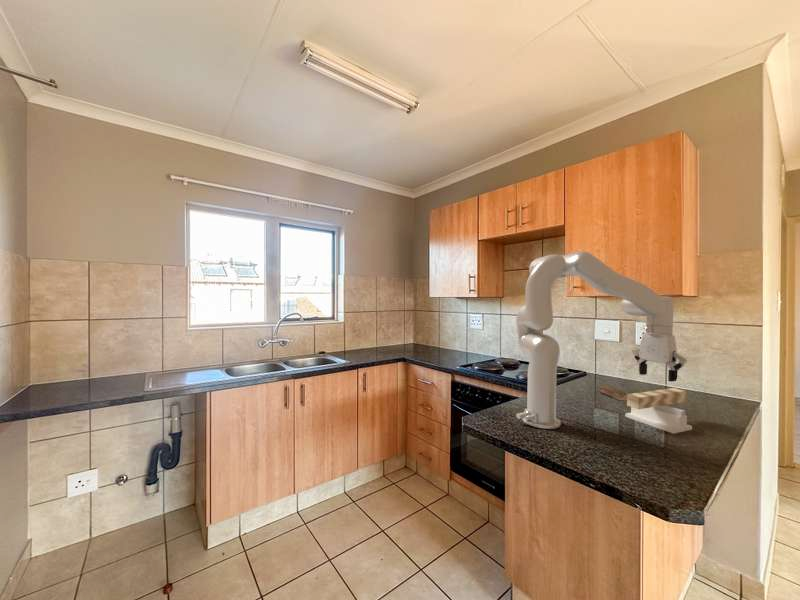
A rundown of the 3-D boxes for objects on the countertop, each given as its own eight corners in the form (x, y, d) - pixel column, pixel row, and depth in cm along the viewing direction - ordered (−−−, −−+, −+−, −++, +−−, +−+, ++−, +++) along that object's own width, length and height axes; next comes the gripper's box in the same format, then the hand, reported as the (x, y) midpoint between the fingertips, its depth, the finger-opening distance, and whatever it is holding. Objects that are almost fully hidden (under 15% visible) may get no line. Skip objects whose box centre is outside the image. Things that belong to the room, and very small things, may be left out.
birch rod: (638, 409, 111) (638, 397, 111) (626, 405, 115) (627, 394, 115) (686, 401, 120) (686, 390, 120) (674, 398, 124) (674, 387, 124)
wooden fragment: (635, 402, 141) (635, 400, 141) (606, 400, 144) (606, 397, 144) (616, 387, 165) (616, 385, 165) (592, 385, 169) (592, 383, 169)
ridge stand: (673, 433, 109) (673, 412, 109) (625, 416, 124) (625, 398, 124) (692, 429, 112) (692, 409, 112) (643, 413, 127) (643, 395, 127)
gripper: (627, 327, 124) (625, 372, 124) (680, 333, 108) (677, 384, 108) (641, 327, 127) (639, 371, 127) (694, 333, 111) (692, 383, 111)
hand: (657, 377), depth 118 cm, fingers open, 9 cm apart
